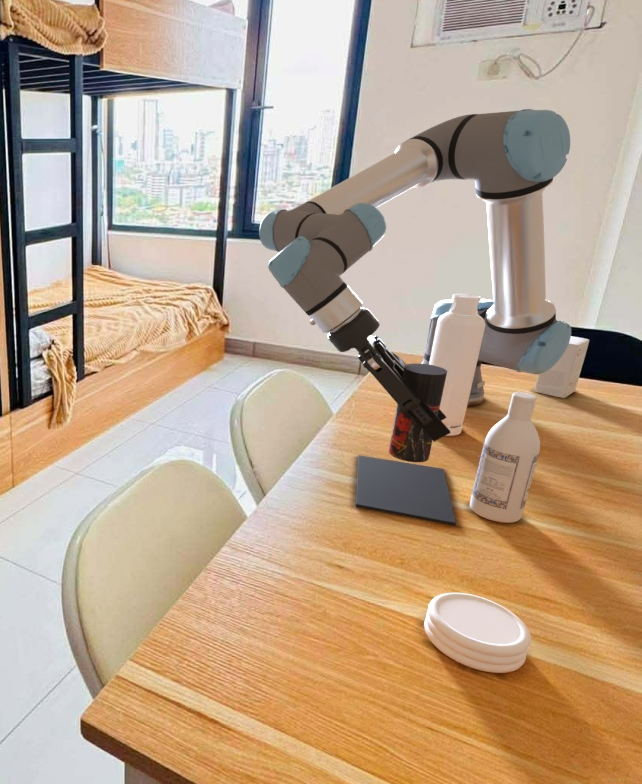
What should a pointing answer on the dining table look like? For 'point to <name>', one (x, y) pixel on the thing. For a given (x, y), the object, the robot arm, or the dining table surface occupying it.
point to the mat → (404, 489)
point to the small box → (564, 370)
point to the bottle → (458, 356)
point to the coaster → (477, 632)
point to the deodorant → (407, 433)
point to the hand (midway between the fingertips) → (439, 428)
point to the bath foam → (507, 463)
